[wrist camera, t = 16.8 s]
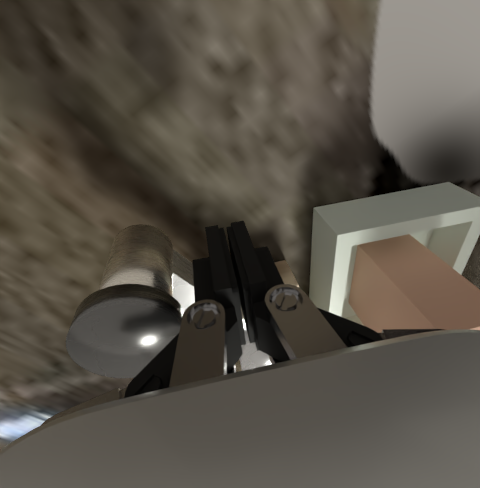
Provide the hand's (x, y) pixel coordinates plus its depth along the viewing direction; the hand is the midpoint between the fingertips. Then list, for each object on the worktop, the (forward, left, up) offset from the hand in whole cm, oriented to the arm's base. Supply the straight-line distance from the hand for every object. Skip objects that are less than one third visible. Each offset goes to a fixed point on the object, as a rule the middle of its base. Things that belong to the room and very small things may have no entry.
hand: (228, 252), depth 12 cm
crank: (+1, +5, -3) cm, 6 cm away
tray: (-11, +8, -6) cm, 15 cm away
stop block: (-12, +8, -5) cm, 15 cm away
